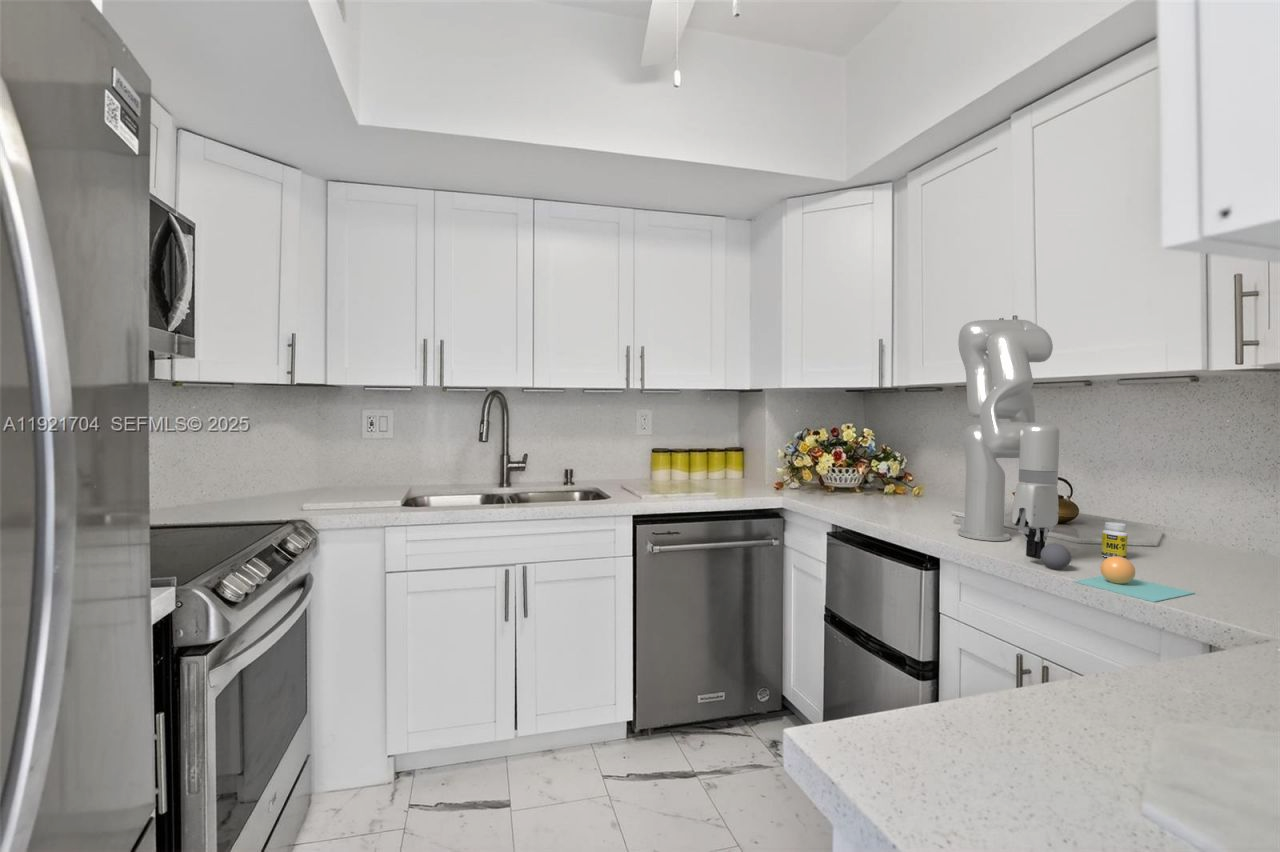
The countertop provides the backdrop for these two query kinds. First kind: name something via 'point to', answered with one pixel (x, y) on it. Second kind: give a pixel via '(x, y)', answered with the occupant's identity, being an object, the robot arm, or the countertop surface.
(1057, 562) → the grey egg-shaped ball
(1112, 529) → the supplement bottle
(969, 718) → the countertop surface
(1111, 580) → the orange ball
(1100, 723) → the countertop surface
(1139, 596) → the teal mark
